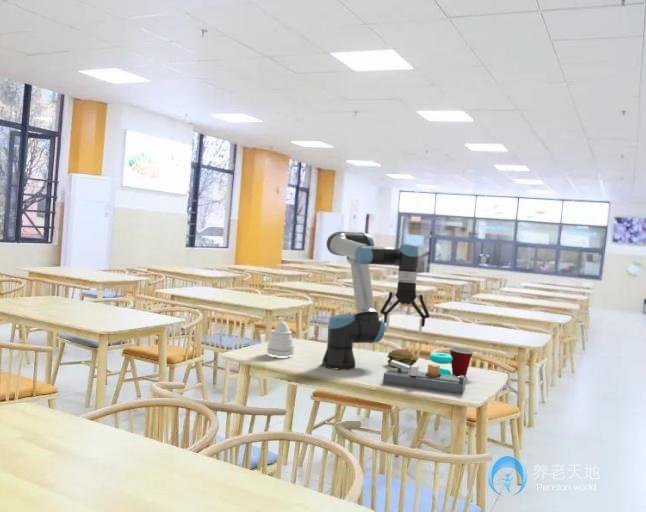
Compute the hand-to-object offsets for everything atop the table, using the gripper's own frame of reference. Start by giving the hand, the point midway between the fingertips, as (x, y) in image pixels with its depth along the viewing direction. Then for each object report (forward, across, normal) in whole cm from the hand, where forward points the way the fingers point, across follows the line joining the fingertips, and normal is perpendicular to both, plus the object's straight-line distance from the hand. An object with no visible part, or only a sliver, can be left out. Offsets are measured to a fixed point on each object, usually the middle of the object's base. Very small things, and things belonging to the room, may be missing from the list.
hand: (403, 332), depth 248 cm
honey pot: (+21, -61, +26) cm, 69 cm away
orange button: (+18, +13, +4) cm, 22 cm away
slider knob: (+16, +6, -2) cm, 17 cm away
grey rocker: (+15, -1, +5) cm, 15 cm away
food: (+21, -3, +33) cm, 39 cm away
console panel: (+21, +10, +1) cm, 23 cm away
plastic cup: (+21, +24, +27) cm, 42 cm away
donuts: (+21, +15, +20) cm, 33 cm away
